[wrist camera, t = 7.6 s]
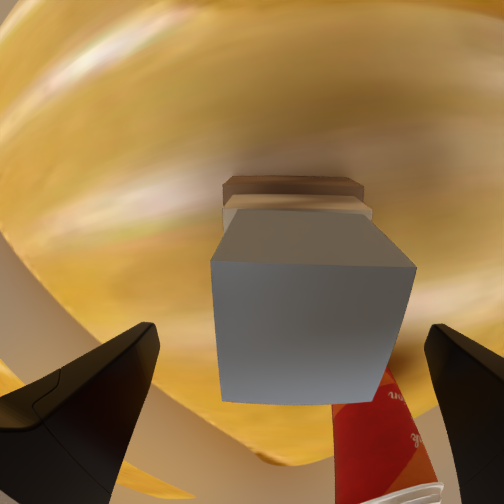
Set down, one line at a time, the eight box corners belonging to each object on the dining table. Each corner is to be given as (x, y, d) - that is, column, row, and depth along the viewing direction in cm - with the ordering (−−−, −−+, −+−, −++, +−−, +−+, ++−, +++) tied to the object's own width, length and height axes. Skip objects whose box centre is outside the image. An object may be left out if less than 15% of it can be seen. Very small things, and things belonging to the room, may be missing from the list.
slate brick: (363, 214, 11) (417, 267, 6) (346, 319, 13) (371, 401, 8) (237, 209, 11) (210, 260, 7) (239, 316, 13) (222, 401, 8)
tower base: (347, 177, 17) (385, 198, 11) (339, 280, 19) (362, 340, 13) (232, 176, 17) (208, 196, 11) (237, 280, 20) (221, 340, 14)
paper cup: (387, 402, 24) (418, 521, 11) (314, 409, 24) (321, 541, 11) (410, 344, 21) (470, 484, 8) (324, 351, 21) (347, 520, 8)
